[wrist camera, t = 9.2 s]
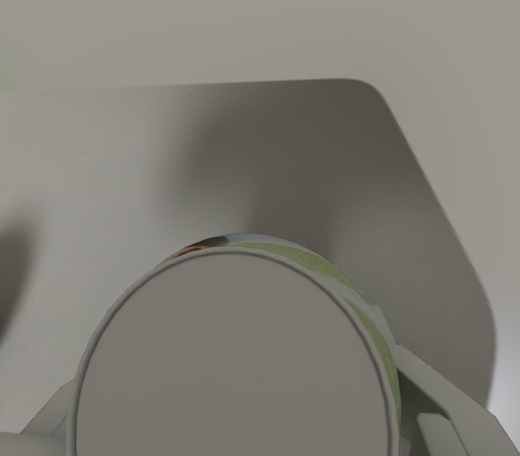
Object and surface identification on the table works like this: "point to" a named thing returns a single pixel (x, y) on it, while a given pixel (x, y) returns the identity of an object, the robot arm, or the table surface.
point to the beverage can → (237, 360)
